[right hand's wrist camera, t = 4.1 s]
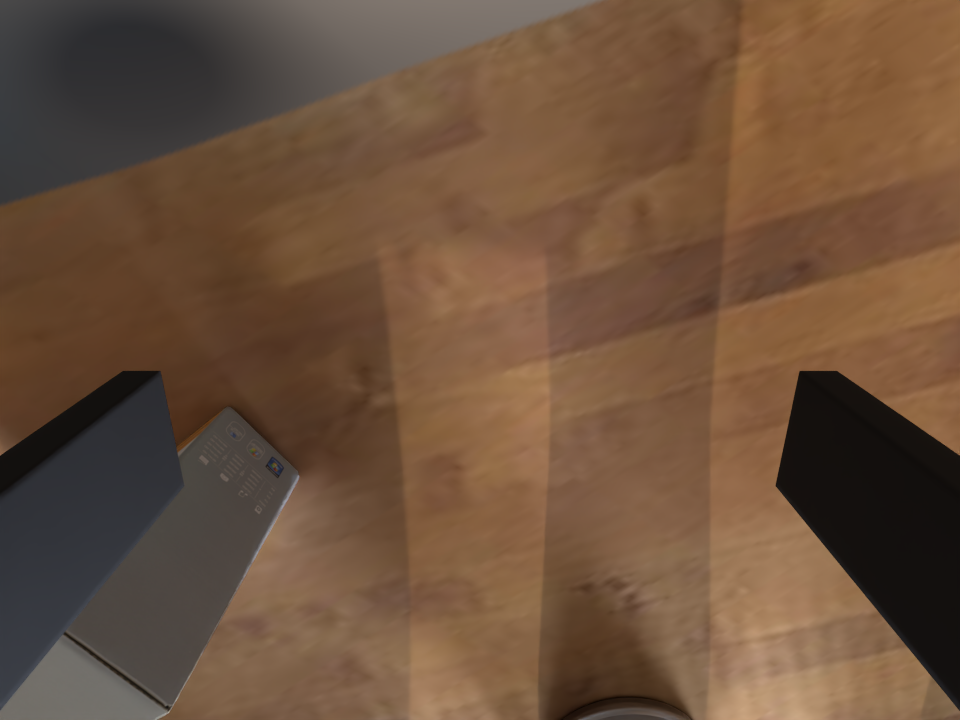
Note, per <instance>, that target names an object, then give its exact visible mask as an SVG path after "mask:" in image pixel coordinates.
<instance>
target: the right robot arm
mask: <svg viewBox="0 0 960 720" xmlns="http://www.w3.org/2000/svg"><path fill="white" fill-rule="evenodd" d="M183 487H184V482H183V477H182V472H181V467H180V462H179V458H178V453H177V448H176V443H175V439H174V434H173V429H172V424H171V419H170V415H169V410H168V405H167V400H166V395H165V391H164V386H163V381H162V376H161V372H160V371H122V372H121V373H120V374H118V375H117V376H115V377H114V378H112V379H111V380H109V381H108V382H106V383H105V384H104V385H102V386H101V387H99V388H98V389H96V390H95V391H93V392H92V393H91V394H89V395H88V396H86V397H85V398H83V399H82V400H80V401H79V402H77V403H76V404H75V405H73V406H72V407H70V408H69V409H67V410H66V411H64V412H63V413H62V414H60V415H59V416H57V417H56V418H54V419H53V420H51V421H50V422H48V423H47V424H46V425H44V426H43V427H41V428H40V429H38V430H37V431H35V432H34V433H33V434H31V435H30V436H28V437H27V438H25V439H24V440H22V441H21V442H19V443H18V444H17V445H15V446H14V447H12V448H11V449H9V450H8V451H6V452H5V453H4V454H2V455H1V456H0V710H1V709H2V708H3V707H4V706H5V704H6V703H7V702H8V701H9V699H10V698H11V697H12V696H13V695H14V693H15V692H16V691H17V690H18V688H19V687H20V686H21V685H22V684H23V682H24V681H25V680H26V679H27V677H28V676H29V675H30V674H31V673H32V671H33V670H34V669H35V668H36V666H37V665H38V664H39V663H40V662H41V660H42V659H43V658H44V657H45V655H46V654H47V653H48V652H49V651H50V649H51V648H52V647H53V646H54V645H55V643H56V642H57V641H58V640H59V638H60V637H61V636H62V635H63V634H64V632H65V631H66V630H67V629H68V627H69V626H70V625H71V624H72V623H73V621H74V620H75V619H76V618H77V616H78V615H79V614H80V613H81V612H82V610H83V609H84V608H85V607H86V605H87V604H88V603H89V602H90V601H91V599H92V598H93V597H94V596H95V594H96V593H97V592H98V591H99V590H100V588H101V587H102V586H103V585H104V583H105V582H106V581H107V580H108V579H109V577H110V576H111V575H112V574H113V572H114V571H115V570H116V569H117V568H118V566H119V565H120V564H121V563H122V561H123V560H124V559H125V558H126V557H127V555H128V554H129V553H130V552H131V550H132V549H133V548H134V547H135V546H136V544H137V543H138V542H139V541H140V539H141V538H142V537H143V536H144V535H145V533H146V532H147V531H148V530H149V528H150V527H151V526H152V525H153V524H154V522H155V521H156V520H157V519H158V518H159V516H160V515H161V514H162V513H163V511H164V510H165V509H166V508H167V507H168V505H169V504H170V503H171V502H172V500H173V499H174V498H175V497H176V496H177V494H178V493H179V492H180V491H181V489H182V488H183ZM776 487H777V488H778V489H779V491H780V492H781V493H782V494H783V496H784V497H785V498H786V499H787V500H788V502H789V503H790V504H791V505H792V507H793V508H794V509H795V510H796V511H797V513H798V514H799V515H800V516H801V518H802V519H803V520H804V521H805V522H806V524H807V525H808V526H809V527H810V528H811V530H812V531H813V532H814V533H815V535H816V536H817V537H818V538H819V539H820V541H821V542H822V543H823V544H824V546H825V547H826V548H827V549H828V550H829V552H830V553H831V554H832V555H833V557H834V558H835V559H836V560H837V561H838V563H839V564H840V565H841V566H842V568H843V569H844V570H845V571H846V572H847V574H848V575H849V576H850V577H851V579H852V580H853V581H854V582H855V583H856V585H857V586H858V587H859V588H860V590H861V591H862V592H863V593H864V594H865V596H866V597H867V598H868V599H869V601H870V602H871V603H872V604H873V605H874V607H875V608H876V609H877V610H878V612H879V613H880V614H881V615H882V616H883V618H884V619H885V620H886V621H887V623H888V624H889V625H890V626H891V627H892V629H893V630H894V631H895V632H896V634H897V635H898V636H899V637H900V638H901V640H902V641H903V642H904V643H905V645H906V646H907V647H908V648H909V649H910V651H911V652H912V653H913V654H914V655H915V657H916V658H917V659H918V660H919V662H920V663H921V664H922V665H923V666H924V668H925V669H926V670H927V671H928V673H929V674H930V675H931V676H932V677H933V679H934V680H935V681H936V682H937V684H938V685H939V686H940V687H941V688H942V690H943V691H944V692H945V693H946V695H947V696H948V697H949V698H950V699H951V701H952V702H953V703H954V704H955V706H956V707H957V708H958V709H959V710H960V456H959V455H958V454H956V453H955V452H954V451H952V450H951V449H949V448H948V447H946V446H945V445H943V444H942V443H941V442H939V441H938V440H936V439H935V438H933V437H932V436H930V435H929V434H927V433H926V432H925V431H923V430H922V429H920V428H919V427H917V426H916V425H914V424H913V423H912V422H910V421H909V420H907V419H906V418H904V417H903V416H901V415H900V414H898V413H897V412H896V411H894V410H893V409H891V408H890V407H888V406H887V405H885V404H884V403H883V402H881V401H880V400H878V399H877V398H875V397H874V396H872V395H871V394H869V393H868V392H867V391H865V390H864V389H862V388H861V387H859V386H858V385H856V384H855V383H854V382H852V381H851V380H849V379H848V378H846V377H845V376H843V375H842V374H840V373H839V372H838V371H800V372H799V376H798V381H797V386H796V391H795V395H794V400H793V405H792V410H791V415H790V419H789V424H788V429H787V434H786V439H785V443H784V448H783V453H782V458H781V462H780V467H779V472H778V477H777V482H776ZM562 720H691V719H690V718H689V717H688V716H687V715H686V714H684V713H683V712H681V711H680V710H678V709H676V708H674V707H672V706H670V705H668V704H665V703H662V702H659V701H655V700H650V699H644V698H615V699H609V700H603V701H600V702H596V703H593V704H590V705H587V706H585V707H582V708H580V709H578V710H576V711H574V712H573V713H571V714H569V715H568V716H566V717H565V718H564V719H562Z"/></svg>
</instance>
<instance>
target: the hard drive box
mask: <svg viewBox="0 0 960 720" xmlns="http://www.w3.org/2000/svg"><path fill="white" fill-rule="evenodd" d="M176 448H177V453H178V458H179V462H180V467H181V472H182V477H183V482H184V487H183V488H182V489H181V491H180V492H179V493H178V494H177V496H176V497H175V498H174V499H173V500H172V502H171V503H170V504H169V505H168V507H167V508H166V509H165V510H164V511H163V513H162V514H161V515H160V516H159V518H158V519H157V520H156V521H155V522H154V524H153V525H152V526H151V527H150V528H149V530H148V531H147V532H146V533H145V535H144V536H143V537H142V538H141V539H140V541H139V542H138V543H137V544H136V546H135V547H134V548H133V549H132V550H131V552H130V553H129V554H128V555H127V557H126V558H125V559H124V560H123V561H122V563H121V564H120V565H119V566H118V568H117V569H116V570H115V571H114V572H113V574H112V575H111V576H110V577H109V579H108V580H107V581H106V582H105V583H104V585H103V586H102V587H101V588H100V590H99V591H98V592H97V593H96V594H95V596H94V597H93V598H92V599H91V601H90V602H89V603H88V604H87V605H86V607H85V608H84V609H83V610H82V612H81V613H80V614H79V615H78V616H77V618H76V619H75V620H74V621H73V623H72V624H71V625H70V626H69V627H68V629H67V630H66V631H65V632H64V634H63V635H62V636H61V637H60V638H59V640H58V641H57V642H56V643H55V645H54V646H53V647H52V648H51V649H50V651H49V652H48V653H47V654H46V655H45V657H44V658H43V659H42V660H41V662H40V663H39V664H38V665H37V666H36V668H35V669H34V670H33V671H32V673H31V674H30V675H29V676H28V677H27V679H26V680H25V681H24V682H23V684H22V685H21V686H20V687H19V688H18V690H17V691H16V692H15V693H14V695H13V696H12V697H11V698H10V699H9V701H8V702H7V703H6V704H5V706H4V707H3V708H2V709H1V710H0V720H159V719H160V718H162V717H163V716H165V715H166V714H168V713H169V712H170V710H171V709H172V707H173V705H174V704H175V702H176V700H177V699H178V697H179V695H180V693H181V691H182V689H183V687H184V686H185V684H186V682H187V680H188V679H189V677H190V675H191V673H192V672H193V670H194V668H195V666H196V664H197V662H198V661H199V659H200V657H201V655H202V653H203V652H204V650H205V648H206V646H207V644H208V642H209V641H210V639H211V637H212V635H213V633H214V632H215V630H216V628H217V626H218V624H219V622H220V621H221V619H222V617H223V615H224V613H225V612H226V610H227V608H228V606H229V604H230V602H231V601H232V599H233V597H234V595H235V593H236V592H237V590H238V588H239V586H240V584H241V583H242V581H243V579H244V577H245V575H246V574H247V572H248V570H249V568H250V566H251V565H252V563H253V561H254V559H255V557H256V556H257V554H258V552H259V550H260V548H261V547H262V545H263V543H264V541H265V539H266V538H267V536H268V534H269V532H270V530H271V529H272V527H273V525H274V523H275V521H276V519H277V518H278V516H279V514H280V512H281V510H282V509H283V507H284V505H285V503H286V502H287V500H288V498H289V496H290V494H291V492H292V491H293V489H294V487H295V485H296V483H297V481H298V479H299V475H298V471H297V470H296V469H295V468H294V467H293V466H292V465H291V464H290V463H289V462H288V461H287V460H286V459H285V458H283V457H282V456H281V455H280V454H279V453H278V452H277V451H276V450H275V449H274V448H273V447H272V446H271V445H270V444H269V443H268V442H267V441H266V440H265V439H264V438H263V437H262V436H261V435H259V434H258V433H257V432H256V431H255V430H254V429H253V428H252V427H251V426H250V425H249V424H248V423H247V422H246V421H245V420H244V419H243V418H242V417H241V416H240V415H239V414H238V413H237V412H235V411H234V410H233V409H232V408H231V407H226V408H224V409H223V410H222V411H220V412H219V413H218V414H217V415H215V416H214V417H213V418H212V419H210V420H209V421H208V422H207V423H205V424H204V425H203V426H202V427H201V428H199V429H198V430H197V431H196V432H194V433H193V434H192V435H191V436H189V437H188V438H187V439H186V440H184V441H183V442H182V443H181V444H179V445H178V446H177V447H176Z"/></svg>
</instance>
